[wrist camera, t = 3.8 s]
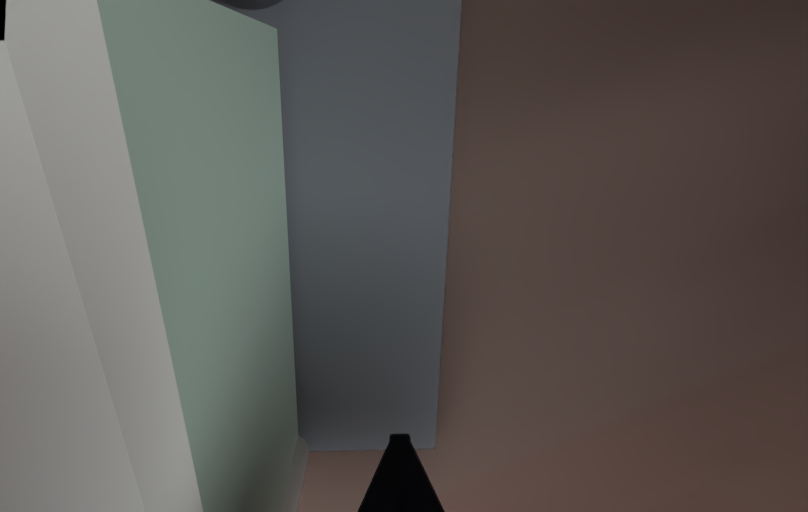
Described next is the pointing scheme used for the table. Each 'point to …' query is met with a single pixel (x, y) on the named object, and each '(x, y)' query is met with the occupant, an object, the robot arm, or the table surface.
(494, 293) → the table surface
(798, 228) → the table surface
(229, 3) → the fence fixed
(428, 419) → the mat
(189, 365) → the fence gate
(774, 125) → the table surface
